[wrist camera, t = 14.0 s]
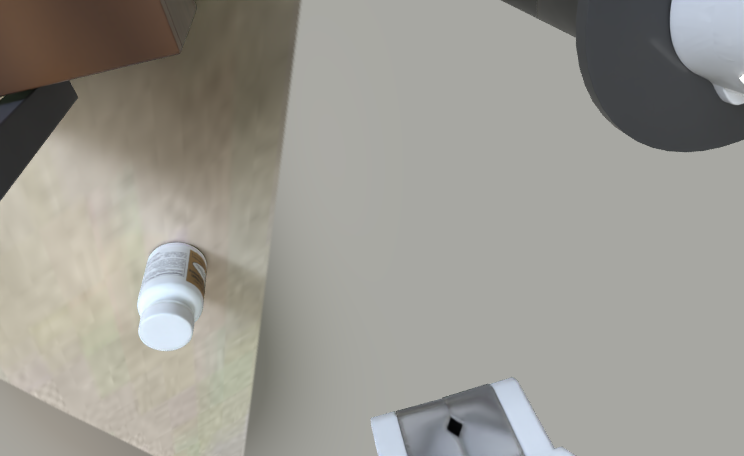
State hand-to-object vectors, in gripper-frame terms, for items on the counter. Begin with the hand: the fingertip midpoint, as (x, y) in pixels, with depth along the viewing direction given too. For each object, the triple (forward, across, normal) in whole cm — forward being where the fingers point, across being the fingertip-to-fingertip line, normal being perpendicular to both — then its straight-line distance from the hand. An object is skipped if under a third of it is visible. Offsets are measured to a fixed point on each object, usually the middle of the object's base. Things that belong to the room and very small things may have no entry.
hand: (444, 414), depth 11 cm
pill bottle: (+29, +14, +14) cm, 35 cm away
